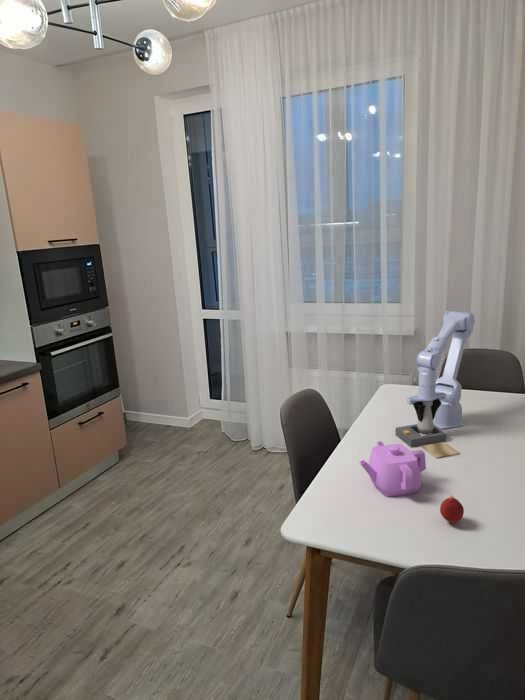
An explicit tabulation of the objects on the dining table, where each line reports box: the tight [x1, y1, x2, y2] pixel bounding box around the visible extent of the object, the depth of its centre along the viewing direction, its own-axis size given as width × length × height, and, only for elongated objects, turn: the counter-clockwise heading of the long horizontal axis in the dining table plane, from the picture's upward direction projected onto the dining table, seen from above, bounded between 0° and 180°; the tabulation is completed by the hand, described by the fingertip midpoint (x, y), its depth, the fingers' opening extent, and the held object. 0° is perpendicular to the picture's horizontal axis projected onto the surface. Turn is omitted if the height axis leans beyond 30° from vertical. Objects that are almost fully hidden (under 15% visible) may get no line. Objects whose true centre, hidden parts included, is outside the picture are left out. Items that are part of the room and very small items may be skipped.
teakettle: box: [359, 440, 427, 498], centre depth 149 cm, size 17×17×12 cm
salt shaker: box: [416, 401, 435, 435], centre depth 178 cm, size 6×6×13 cm
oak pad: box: [421, 442, 461, 459], centre depth 169 cm, size 9×9×1 cm
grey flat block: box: [395, 423, 447, 448], centre depth 179 cm, size 14×11×4 cm
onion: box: [439, 494, 465, 524], centre depth 129 cm, size 6×6×8 cm
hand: (425, 419), depth 178 cm, fingers closed on salt shaker, 4 cm apart
